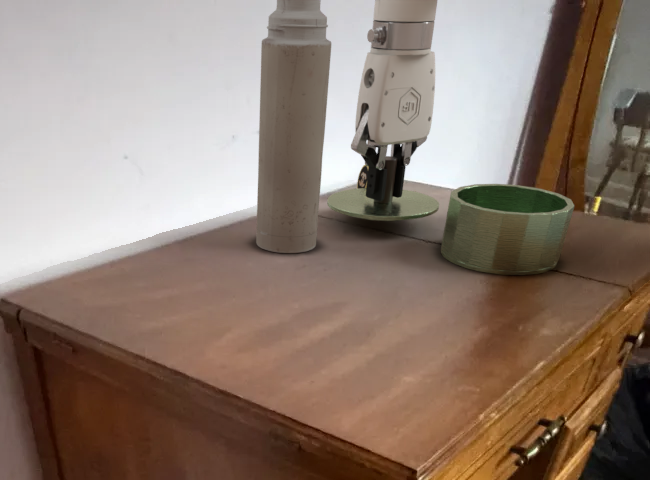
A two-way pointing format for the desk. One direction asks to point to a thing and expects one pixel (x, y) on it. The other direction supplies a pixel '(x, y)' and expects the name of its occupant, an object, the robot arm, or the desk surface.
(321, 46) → the thermos bottle
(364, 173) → the eyeshadow
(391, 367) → the desk surface
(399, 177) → the robot arm
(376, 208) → the lid
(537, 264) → the tin
